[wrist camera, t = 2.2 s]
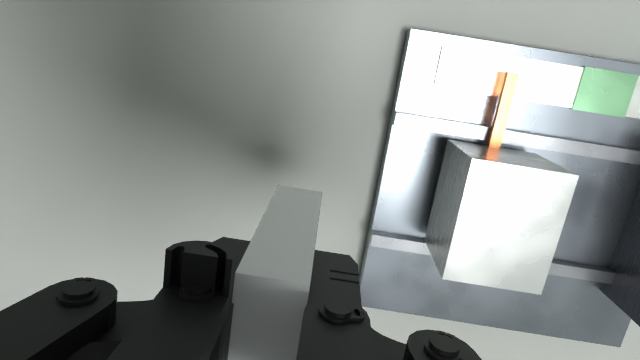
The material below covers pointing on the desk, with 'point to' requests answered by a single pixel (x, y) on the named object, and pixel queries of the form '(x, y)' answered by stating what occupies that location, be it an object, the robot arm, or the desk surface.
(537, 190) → the block
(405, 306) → the bench
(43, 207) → the desk surface
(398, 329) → the desk surface
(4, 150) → the desk surface
